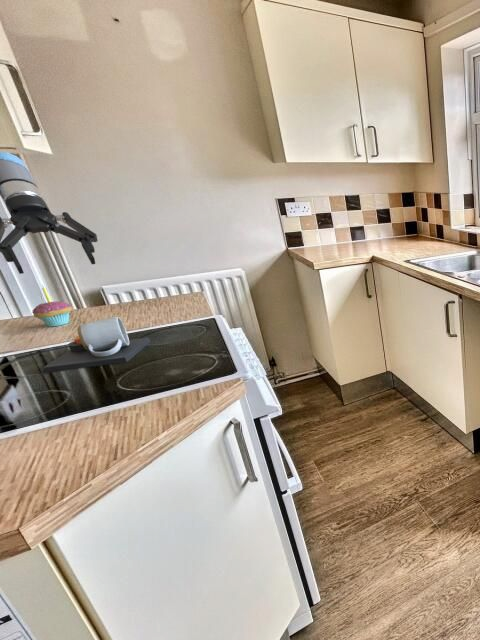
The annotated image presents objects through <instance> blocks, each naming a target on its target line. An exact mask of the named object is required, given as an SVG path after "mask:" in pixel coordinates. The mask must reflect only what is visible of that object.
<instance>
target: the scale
mask: <svg viewBox="0 0 480 640" xmlns="http://www.w3.org/2000/svg"><path fill="white" fill-rule="evenodd" d="M151 342H152V341H151V338H150V337H141V338H132V339H129V345H128V346H122V347H121V348H120V350H119V351H118V352H116V353H114V354H112V355H110V356H104V357H99V356H94V355H93V354H92V353H91V352H90V351H88V350H86V349H85V348H84V346H83V345H82V344H76V342H75V340H73V341H70V342H69V343H68V344H67V346H68V348H69V350H67V351H66V352H65V353H63V354H61V355H60V356H58V357H56V358H55V359H54V360H52V361H51V362H49V363H47V364H45V366H43V367H42V369H43V371H44V373H45V374H46V373H53V372H62V371H67V370H68V371H69V370H77V369H84V368H93V367H99V366H109V365H116V364H122V363H128V362H129V361H130V360H131V359H133V358H134V357H135V356H136V355H138V353H140V352H141V351H142V350H144V348H146V347H147V346H148V345H149V344H150V343H151ZM111 349H112V348H111ZM108 350H110V349H105V350H100V351H94V352H104V351H108Z"/></svg>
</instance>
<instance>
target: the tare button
mask: <svg viewBox="0 0 480 640" xmlns="http://www.w3.org/2000/svg"><path fill="white" fill-rule="evenodd" d="M73 341H75V342H76V344H82V343H81V341H80V338H79V336H76V337H74V338H73Z"/></svg>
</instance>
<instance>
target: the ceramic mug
mask: <svg viewBox="0 0 480 640" xmlns="http://www.w3.org/2000/svg"><path fill="white" fill-rule="evenodd" d="M77 335H78V337H79V338H80V341H81V343H82V345H83V346H84V348H85V349H86V350H88V351H90V352H91V353H92V354H93V355H94V356H99V357H104V356H110V355H112V354H114V353H116V352H118V351H119V350H120V348H121V347H122V346H128V345H129V340H130V339H129V335H128V332H127V330H126V327H125V325H124V322H123V321H122V319H121V318H120V317H119V316H114V317H109V318H105V319H104V318H103V319H100V320H95V321H90V322H86V323H83V324H81V325H79V326H78V327H77ZM111 348H112V349H111ZM105 349H110V350H108V351H104V352H94V351H100V350H105Z"/></svg>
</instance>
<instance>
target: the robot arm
mask: <svg viewBox="0 0 480 640" xmlns="http://www.w3.org/2000/svg"><path fill="white" fill-rule="evenodd" d="M0 198H1V200H2V202H3V204H4V205H5V207H6V210H7V212H8V214H9V215H10V218H2V217H1V216H0V254H2V256H3V258H4V260H5V262H7V263H13V264H14V266H15V268H16V270H17V271H18V274H19V275H21V274H22V275H23V274H24V273H25V272H24V270H23V268H22V264H21V263H20V261H19V259H18V256H17V255H16V253H15V251H14V250H13V248H14V247H15V246H16V245H17V244H18V243H19V242H20V240H21V239H22V238H24V237H26V236H27V234H29V233H31V234H38V233H49V232H53V233H54V234H60V235H62V236H65V237H67V238H69V239H71V240H74V241H76V242H79V243H80V244H81V247H82V249H83V252H85V255H86V256H87V258H88V260H89V262H90V264H91V265H96V260H95V259H96V258H95V256H94V255H93V254H94V253H96V250H95V247H94V245H93V243H98V236H97V234H96V233H95V232H94V231H92V230H91V229H89V228H88V227H86V226H85V225H83V224H81V223H80V222H78V221H77V220H76V219H74V218H72V216H71V215H70V214H69V213H68V211H67V212H66V211H63V212H62V213H61V214H57V215H55V214H53V213H52V212H51V210H50V207H49V206H48V204H47V203H46V201H45V199H44V197H43V195H42V193H41V192H40V190H39V188H38V186H37V184H36V182H35V180H34V178H33V176H32V175H31V172H30V170H29V169H28V168H27V166H26V164H25V163H24V161H23V160H22V159H21V158H20V157H19V156H16V155H15V154H12V153H9V152H6V151H0ZM59 222H60V223H59ZM61 223H63V224H64V225H63V224H61ZM10 225H13V226H14V228H13V229H12V230H11V231H10V232H9V233H8V234H7V235H6V236H5V237H4V234H5V232H6V229H8V227H10ZM65 225H67V226H68V227H67V226H65ZM3 237H4V239H3Z"/></svg>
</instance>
